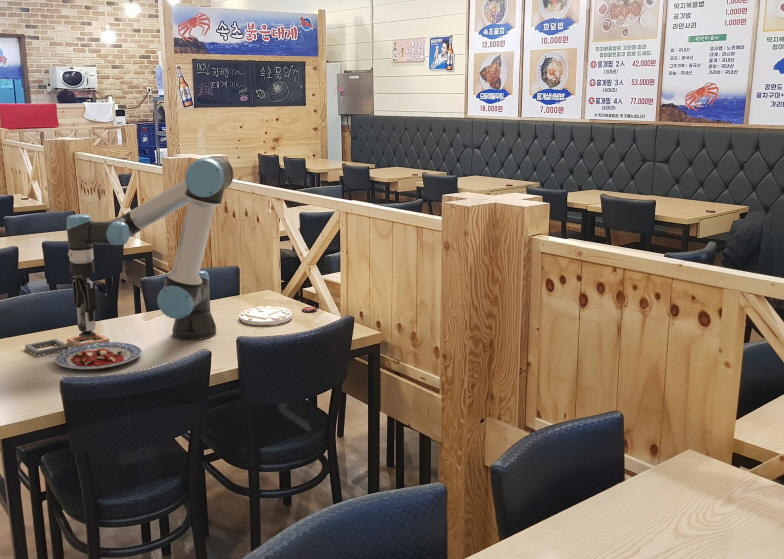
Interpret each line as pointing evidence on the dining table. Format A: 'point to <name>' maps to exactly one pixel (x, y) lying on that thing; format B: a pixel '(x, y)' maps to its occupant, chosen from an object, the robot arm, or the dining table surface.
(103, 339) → the socket
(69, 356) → the ceramic plate
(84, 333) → the chess piece
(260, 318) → the embossed medallion
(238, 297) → the dining table surface
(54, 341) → the socket
